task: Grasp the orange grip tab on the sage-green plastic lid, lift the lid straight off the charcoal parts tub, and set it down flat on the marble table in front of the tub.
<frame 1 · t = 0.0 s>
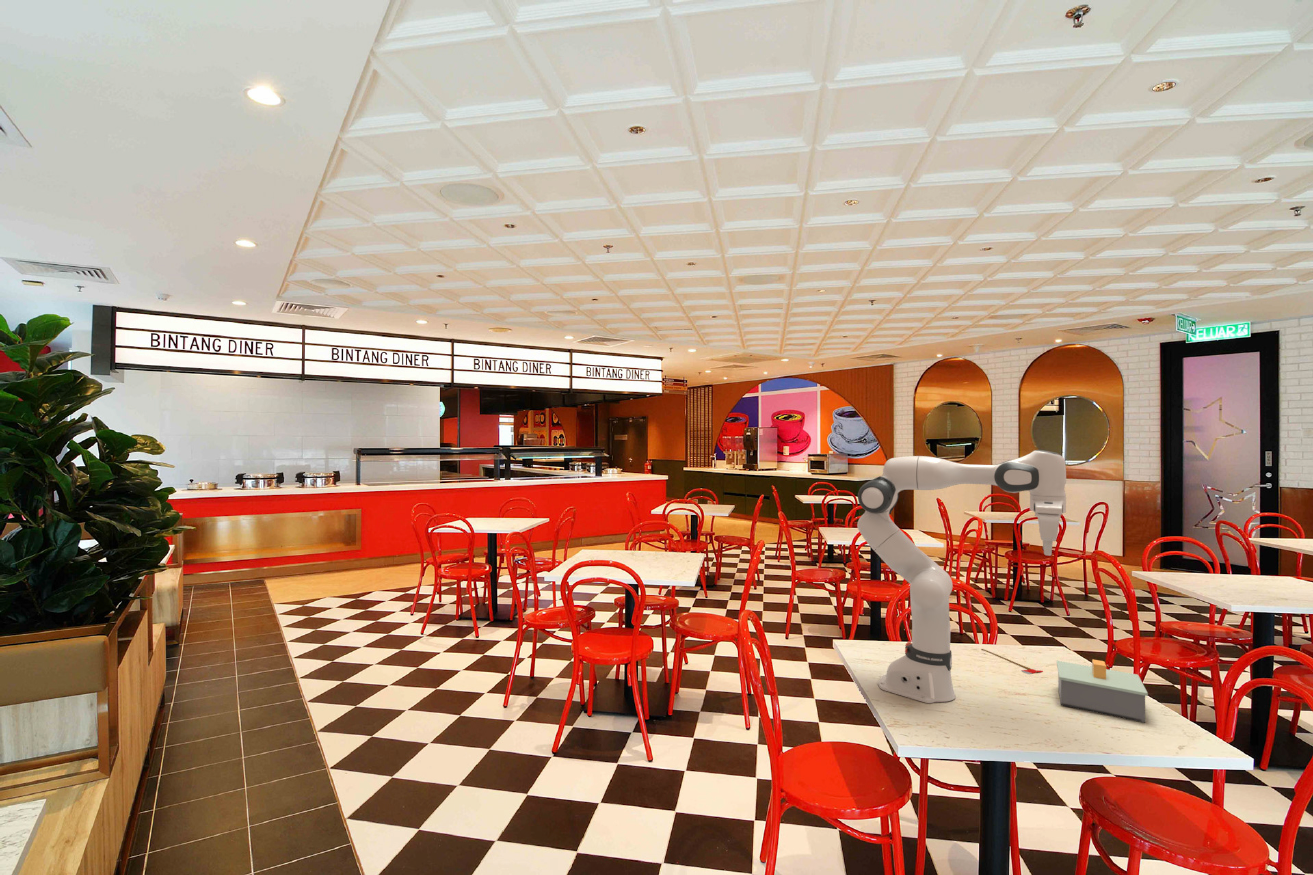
hand: (1047, 552, 172), 48 cm above the table, fingers open, 8 cm apart
tub: (1098, 704, 182), on the table
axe: (1013, 663, 218), on the table
lid: (1098, 678, 182), point 8 cm above the table, touching tub
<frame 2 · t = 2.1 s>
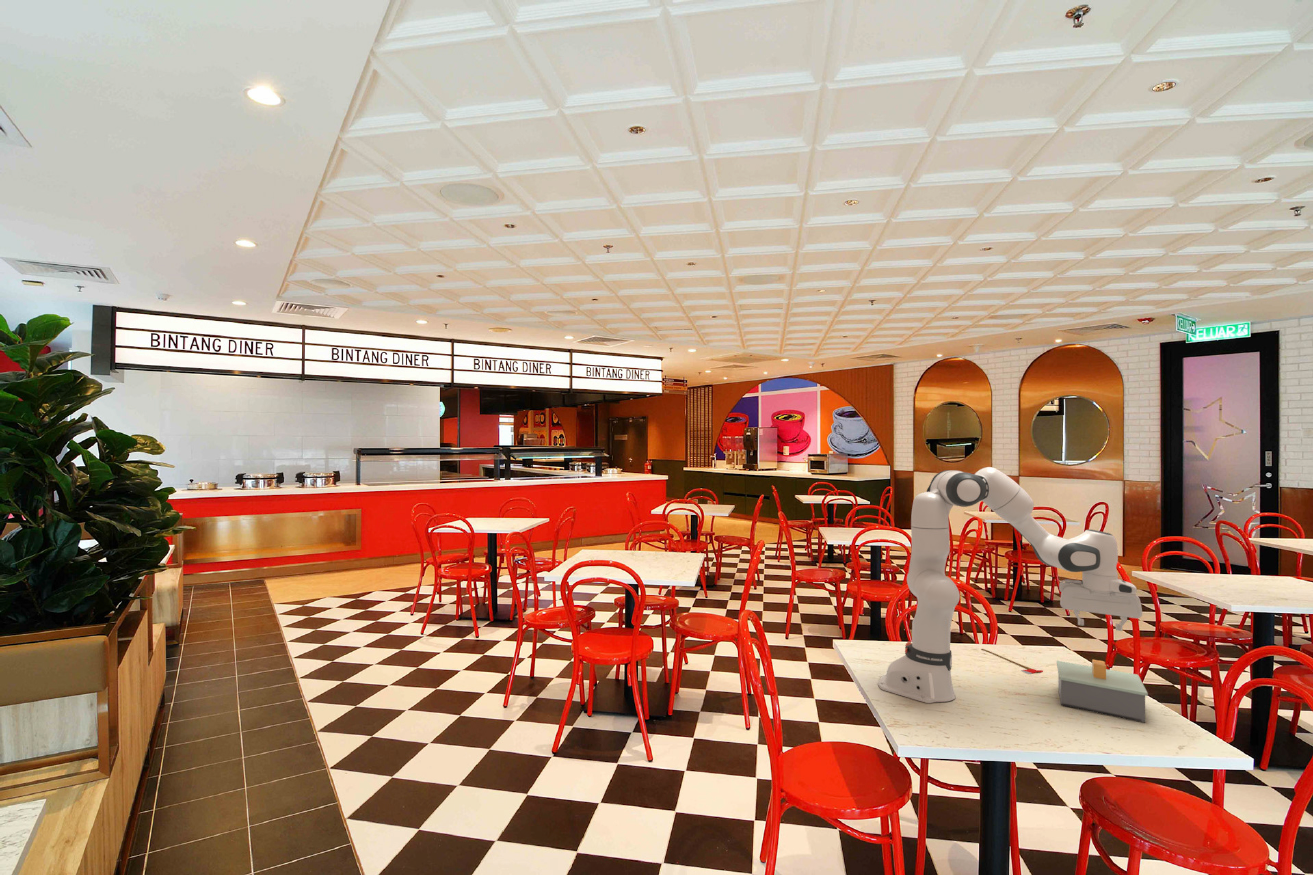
hand: (1099, 627, 182), 24 cm above the table, fingers open, 8 cm apart
nothing on the table moved.
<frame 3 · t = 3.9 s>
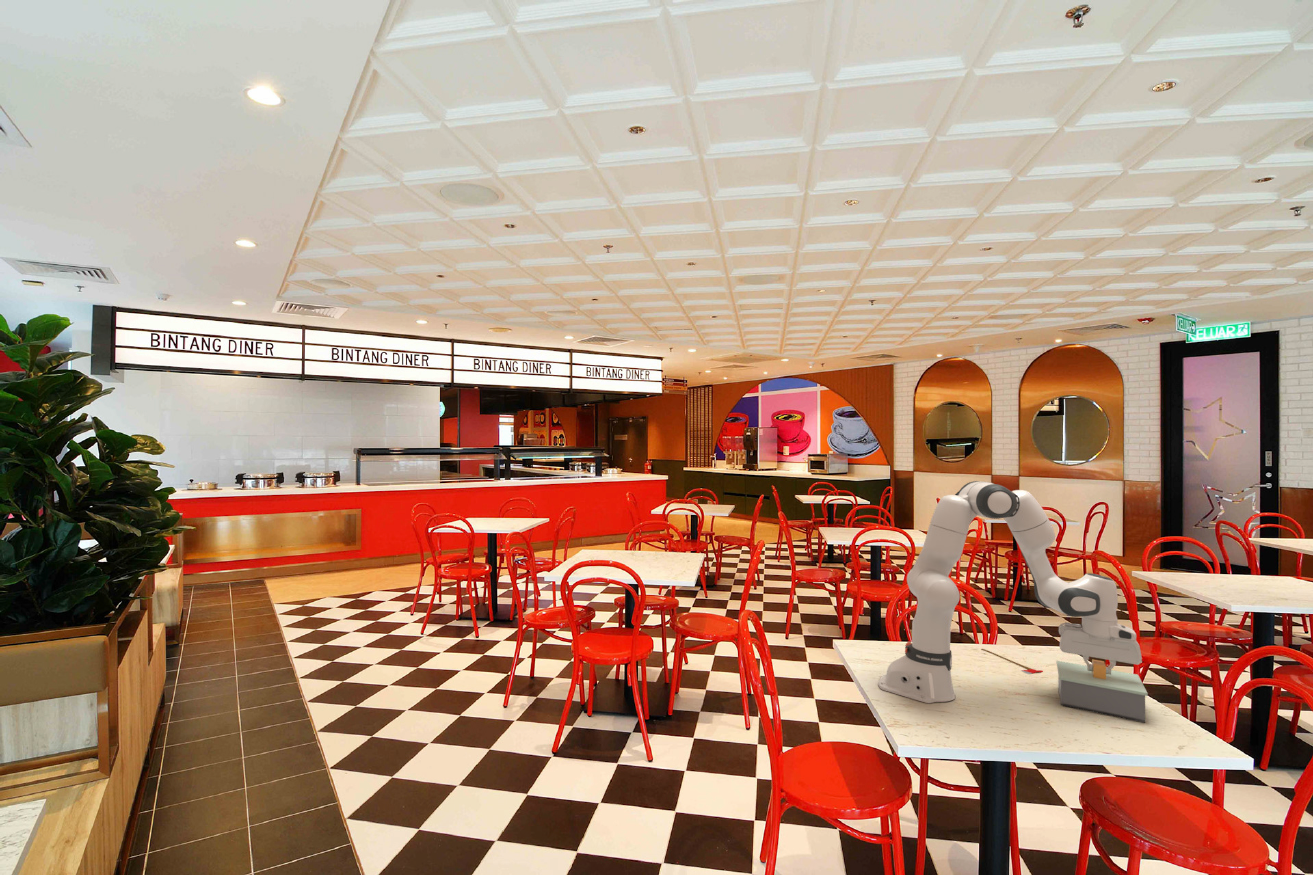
hand: (1098, 672, 182), 10 cm above the table, fingers closed on lid, 3 cm apart
lid: (1098, 678, 182), point 8 cm above the table, touching gripper, tub
everything else where it was.
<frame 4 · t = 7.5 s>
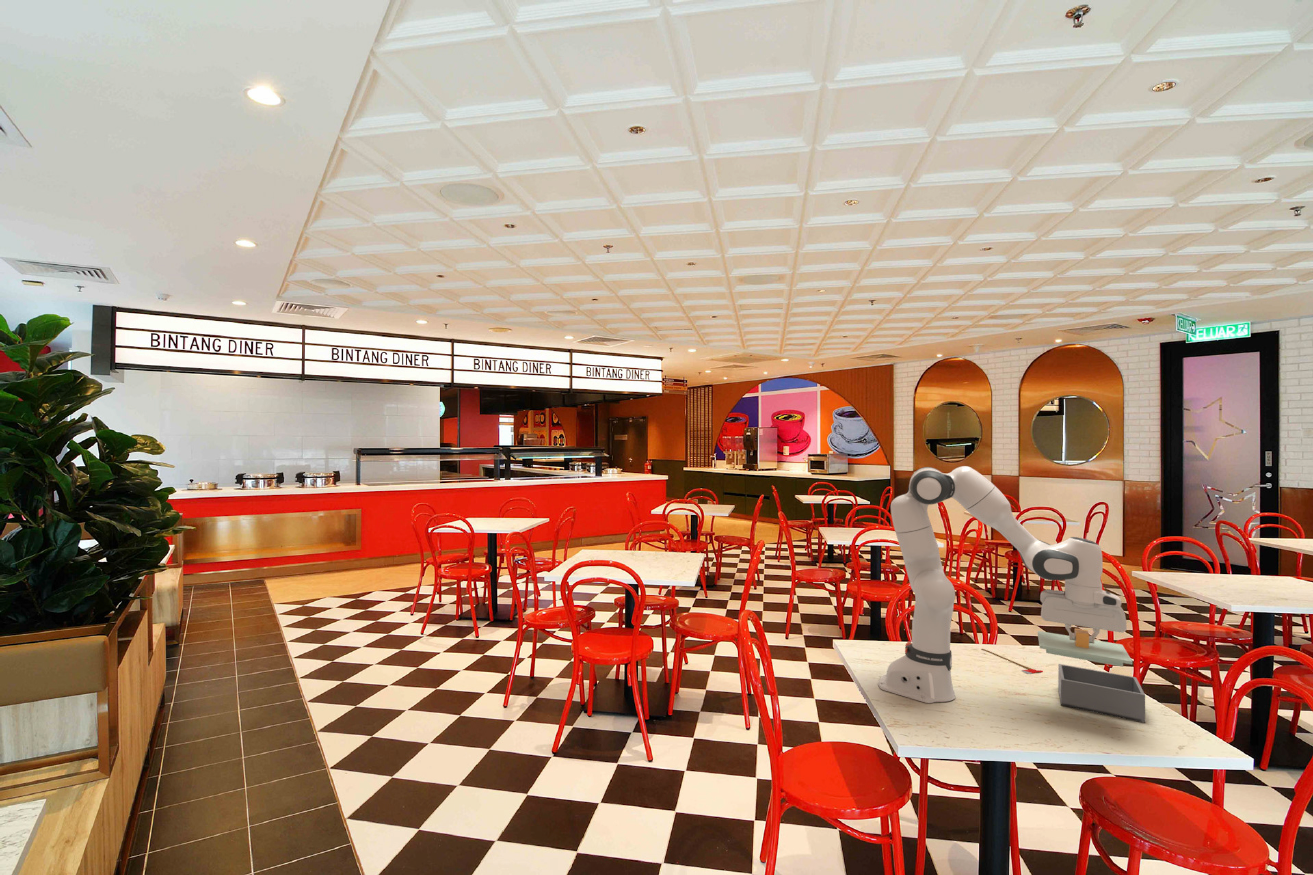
hand: (1081, 641, 172), 22 cm above the table, fingers closed on lid, 3 cm apart
lid: (1081, 647, 172), point 21 cm above the table, touching gripper
everything else where it was.
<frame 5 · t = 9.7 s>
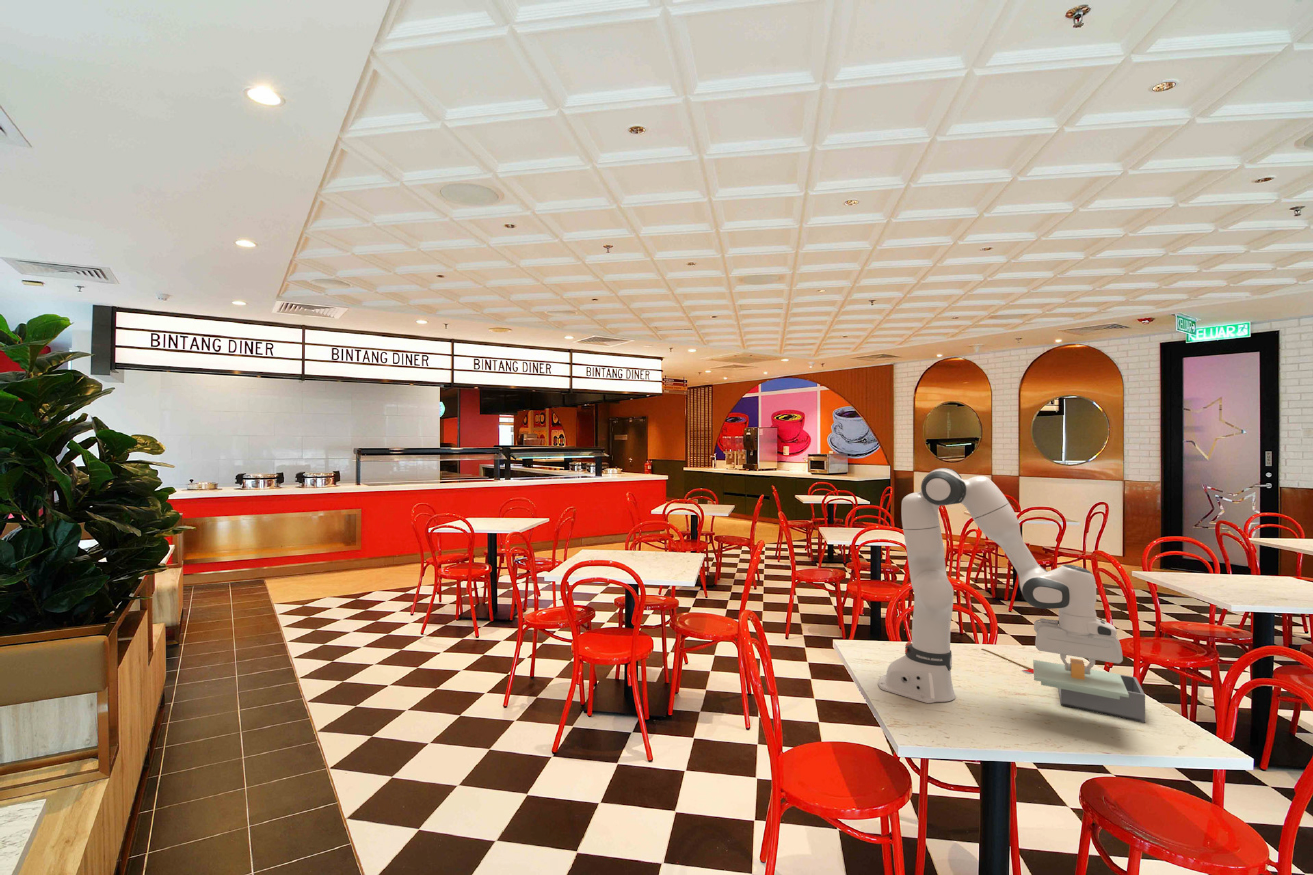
hand: (1077, 671, 168), 15 cm above the table, fingers closed on lid, 3 cm apart
lid: (1077, 678, 168), point 13 cm above the table, touching gripper
everything else where it was.
when the fingers open (5 cm above the table, at t = 12.1 s): lid drops 2 cm, point 1 cm above the table.
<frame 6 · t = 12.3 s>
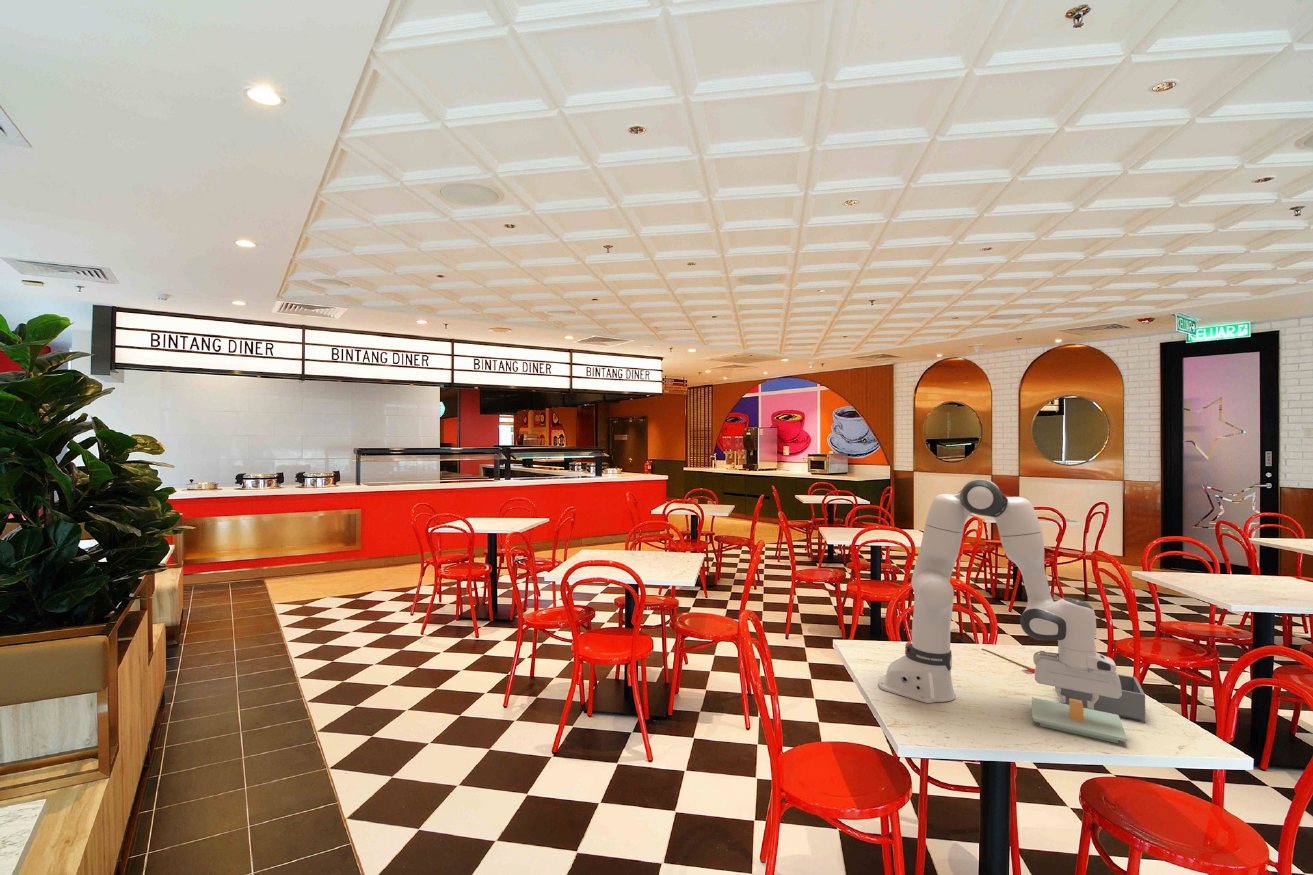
hand: (1076, 705, 168), 5 cm above the table, fingers open, 5 cm apart
lid: (1076, 719, 168), point 1 cm above the table
everything else where it was.
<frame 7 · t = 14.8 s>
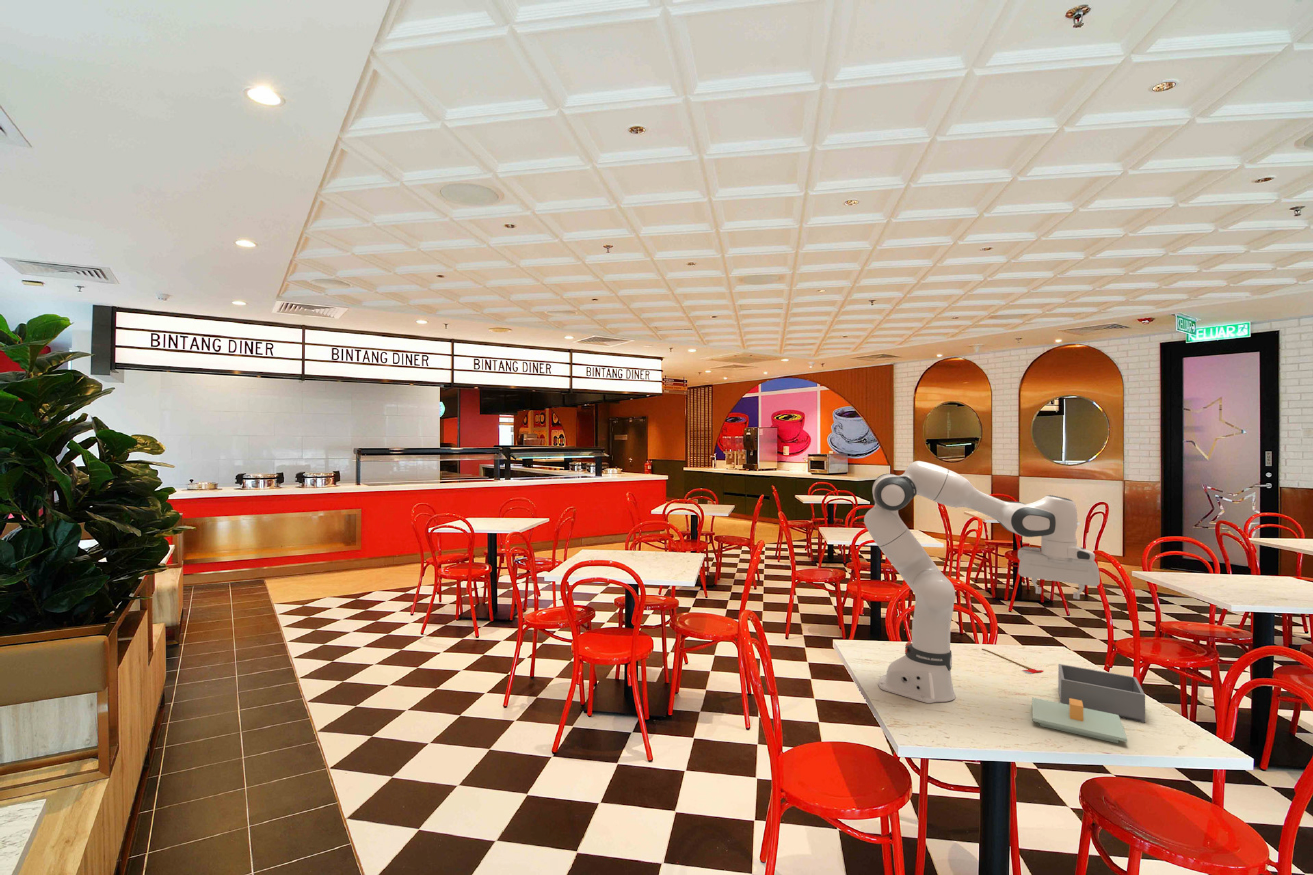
hand: (1057, 595, 177), 34 cm above the table, fingers open, 8 cm apart
nothing on the table moved.
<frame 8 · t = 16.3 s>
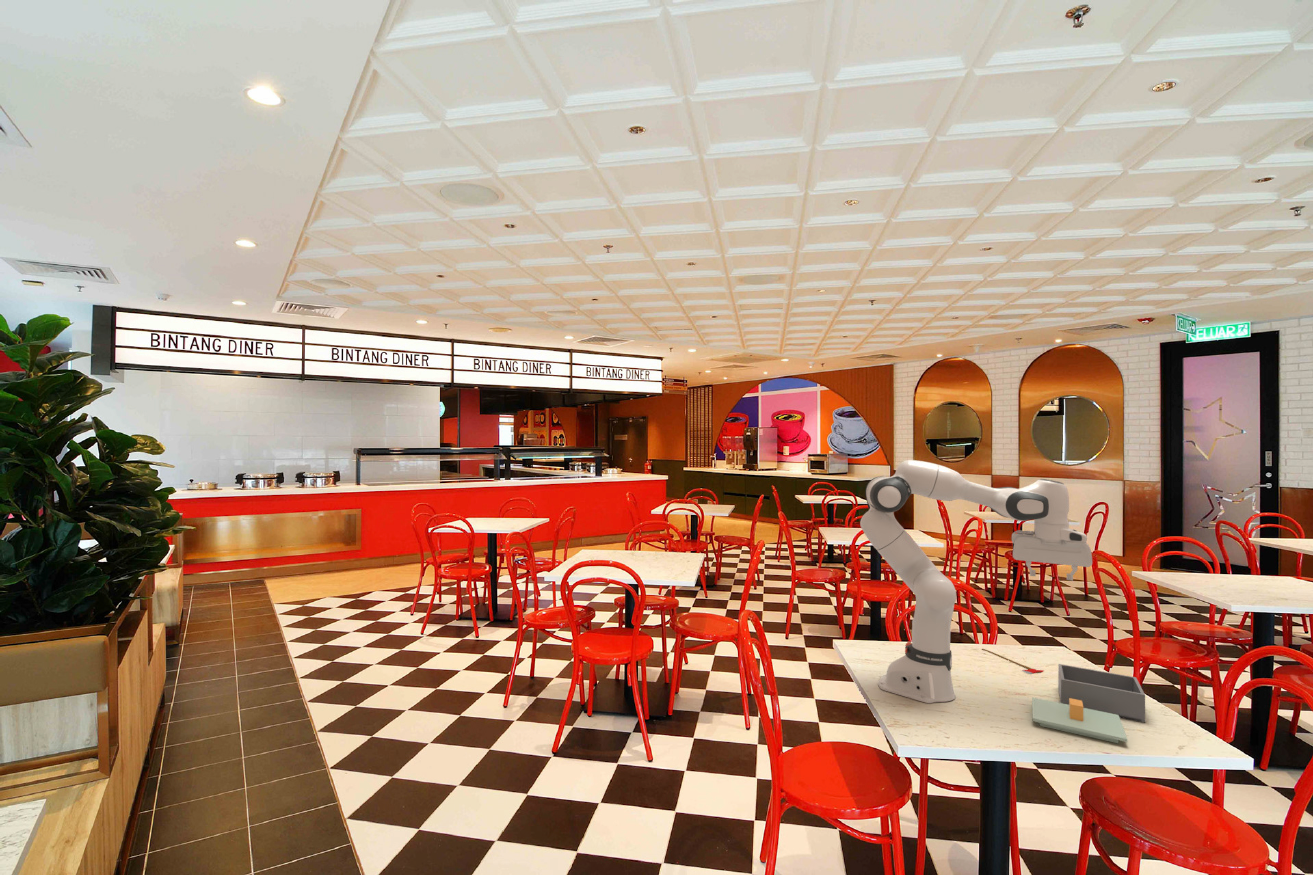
hand: (1050, 577, 180), 39 cm above the table, fingers open, 8 cm apart
nothing on the table moved.
at the end: lid inside the target area (0.1 cm from its centre), point 1.5 cm above the table; lid tilted 0°; the gripper is holding nothing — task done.
